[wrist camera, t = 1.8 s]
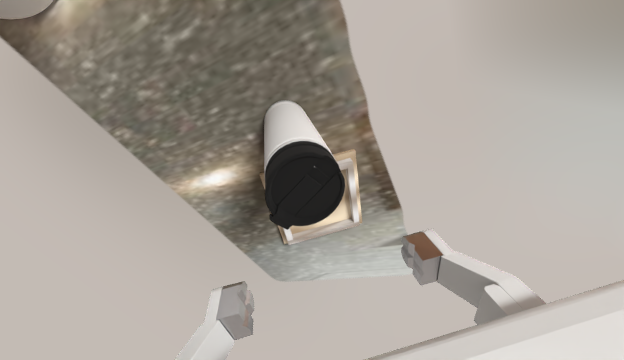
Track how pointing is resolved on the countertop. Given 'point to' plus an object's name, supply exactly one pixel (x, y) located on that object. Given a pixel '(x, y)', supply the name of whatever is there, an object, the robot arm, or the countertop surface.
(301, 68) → the countertop surface
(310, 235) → the square metal tray
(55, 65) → the countertop surface
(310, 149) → the travel mug
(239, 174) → the countertop surface
